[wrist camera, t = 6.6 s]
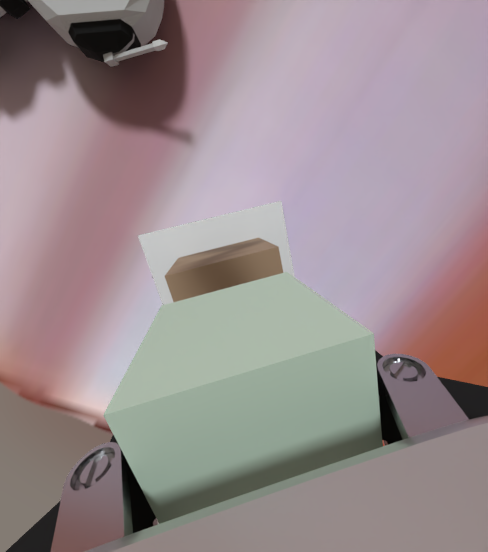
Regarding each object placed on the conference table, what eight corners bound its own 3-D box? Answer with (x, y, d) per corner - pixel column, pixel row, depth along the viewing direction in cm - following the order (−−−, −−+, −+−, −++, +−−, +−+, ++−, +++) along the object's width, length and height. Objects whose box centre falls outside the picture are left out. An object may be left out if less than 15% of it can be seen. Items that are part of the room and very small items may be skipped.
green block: (286, 271, 11) (373, 333, 5) (305, 374, 13) (387, 508, 7) (161, 305, 10) (103, 414, 5) (198, 408, 12) (188, 581, 6)
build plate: (277, 201, 20) (281, 200, 19) (298, 320, 24) (303, 326, 23) (142, 234, 19) (137, 235, 18) (184, 353, 23) (182, 360, 22)
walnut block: (258, 237, 20) (278, 246, 14) (274, 310, 22) (296, 344, 16) (178, 257, 19) (164, 276, 13) (201, 330, 21) (198, 373, 15)
